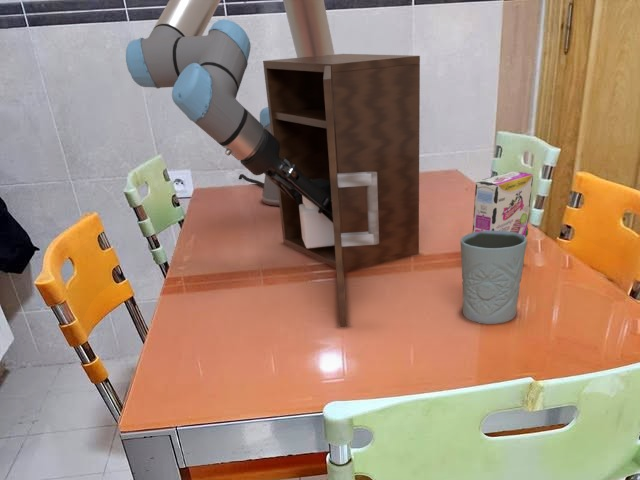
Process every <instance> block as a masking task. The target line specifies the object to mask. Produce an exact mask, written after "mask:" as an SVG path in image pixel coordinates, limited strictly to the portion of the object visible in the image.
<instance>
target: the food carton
mask: <svg viewBox="0 0 640 480" xmlns="http://www.w3.org/2000/svg"><path fill="white" fill-rule="evenodd" d="M533 180H534V174H532V173H527V172H521V171H508V172H505V173H502V174H497V175H494V176H490V177H487V178H484V179H480V180H477V181H475V190H474V205H473V220H472V233H474V232H480V231H509V232H515V233H519V234H522V235H524V236H525V237H526V238H527V236H526V233H527V227H528V225H529V224H528V222H529V215H530V208H531V198H532V188H533Z"/></svg>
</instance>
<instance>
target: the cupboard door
mask: <svg viewBox="0 0 640 480" xmlns="http://www.w3.org/2000/svg"><path fill="white" fill-rule="evenodd" d="M323 83H324V98H325V112H326V127H327V141H328V155H329V170H330V184H331V199H332V213H333V228H334V242H335V257H336V268H335V269H336V282H337V285H336V286H337V297H338V311H339V326H340V327H347V310H346V307H347V306H346V291H345V274H344V270H343V255H342V247H345V246H362V245H376V244H379V222H378V189H377V172H357V173H341V174H337V159H336V143H335V127H334V111H333V95H332V80H331V66H325V67H324V77H323ZM357 186H367V212H368V232H354V233H341V223H340V207H339V191H338V188H340V187H357Z"/></svg>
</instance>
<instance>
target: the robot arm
mask: <svg viewBox="0 0 640 480" xmlns="http://www.w3.org/2000/svg"><path fill="white" fill-rule="evenodd" d="M221 1H222V0H168V2H167V4H166V5H165V7H164V9H163V11H162V12H161V15H160V16H159V18H158V20H157V21H156V23H155V25H154V27H153V29H152V30H151V32H150V34H149V36H148V37H145V38H144V37H139V38H136V39H132V40H131V41H129V42H128V44H127V46H126V49H125V63H126V67H127V70H128V72H129V74H130V76H131V79H132V80H133V81H134V82H135V84H137V85H138V86H140V87H143V88H156V89H158V90H159V89H160V88H162V89H163V88H164V89H165V88H172V91H171V99H172V101H173V103H174V105H175V106H177V108H178V109H179V110H180V111H181V112H182V113H183V114H184V116H186V117H187V118H188V119H189V120H190V121H191V122H193V123H194V124H195V125H196V126H198V127H199V128H200V129H201V130H202V131H203V132H204V133H206V134H207V135H208V136H209V137H210V138H211V139H213V140H214V141H216V143H217V144H219V146H221V147H222V148H224V149H225V152H224V154H225V155H226V156H227V157H230V155H231V156H232V157H234V159H236V160H237V161H240V164H241V165H242V166H243V167H244V168H246V169H247V170H248V171H249V172H250V173H251V174H252V175H253V176H262V175H263V174H264V181H263V182H262V181H259V180H256V179H253V178H249V177H247V176H246V175H245V174H244V173H241V174H240V175H239V176H238V180H244V181H246V182H248V183H252V184H254V185H258V186H260V187H262V188H263V190H262V192H261V198H262V203H264V204H265V205H267V206H274V207H275V206H276V207H280V206H279V197H278V188H279V189H280V190H281V191H282V192H283V193H284V194H285V195H286V196H290V197H291V198H292V199H294V200H295V199H297V200H296V202H297V203H298V204H299V205H300V204H303V199H302V195H303V196H304V197H305V198H307V199H308V200H309V201H310V202H312V203H313V204H314V205H316V206H317V207H318V208H319V211H318V213H320V214H321V212H322V213H323V214H324V215H325V216H326V217H327V218H328V219H329V220H330V221H331V222H332V223H333V213H332V202H331V200H332V199H331V196H329V195H328V194H327V193H325V192H324V191H323V190H322V189H321V188H320V187H318V186H317V185H316V184H315V183H314V182H313V181H311V180H310V179H309V178H308V177H307V176H306V175H305V174H303V173H302V172H301V171H300V170H299V169H298V168H297V167H296V165H295V164H290V162H289V161H288V160H286V159H285V158H283V159H281V158H280V157H279V151H280V143H279V141H278V140H277V139H276V138H275V137H274V136H273V135H272V134H271V127H270V118H269V109H268V106H266V107H264V108H262V109H261V110H260V111H259V120H258V119H257V118H256V117H255V116H254V115H253V114H252V113H251V112H250V111H249V110H248V109H246V108H245V107H244V105H242V104H241V103H240V102H239V101H238V99H236V98H237V96H238V93H239V89H240V87H241V84H242V80H243V78H244V75H245V71H246V70H247V68H248V64H249V63H248V61H249V58H250V53H251V41H250V38H249V36H248V34H247V32H246V31H245V29H243V27H241V25H239V24H238V23H237V22H234V21H232V20H230V19H225V18H223V19H219V20H217V21H215V22H214V23H213V24H212V25H211V27H210V29H208V31H207V35H204V33H205V31H206V29H207V28H208V25H209V23H210V22H211V20H212V18H213V16H214V14H215V12H216V10H217V9H218V6H219V5H220V3H221ZM282 2H283V6H284V10H285V14H286V18H287V22H288V27H289V30H290V34H291V39H292V43H293V46H294V50H295V54H296V58H301V57H312V56H324V55H335V50H334V45H333V40H332V34H331V29H330V25H329V19H328V15H327V10H326V5H325V0H282ZM277 187H278V188H277Z"/></svg>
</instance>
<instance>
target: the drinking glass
mask: <svg viewBox="0 0 640 480" xmlns="http://www.w3.org/2000/svg"><path fill="white" fill-rule="evenodd" d="M527 244H528V238H527V236H526V237H525V236H524V235H522V234H519V233H515V232H509V231H480V232H474V233H473V232H470V233H467V234H465V235H464V236H462V237H461V239H460V259H461V260H460V262H461V278H462V279H461V280H462V281H461V284H462V286H461V287H462V315H463V316H464V317H463V318H466V319H467V320H469V321H471V322H475V323H477V324H482V325H497V324H498V325H499V324H503V323H507V322H510V321H512V320H513V319H514V318H515V317H516V314H517V309H518V308H517V307H518V306H517V305H518V301H519V296H520V295H519V294H520V289H521V285H520V284H521V282H522V275H523V269H524V262H525V256H526V255H525V254H526V249H527Z"/></svg>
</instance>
